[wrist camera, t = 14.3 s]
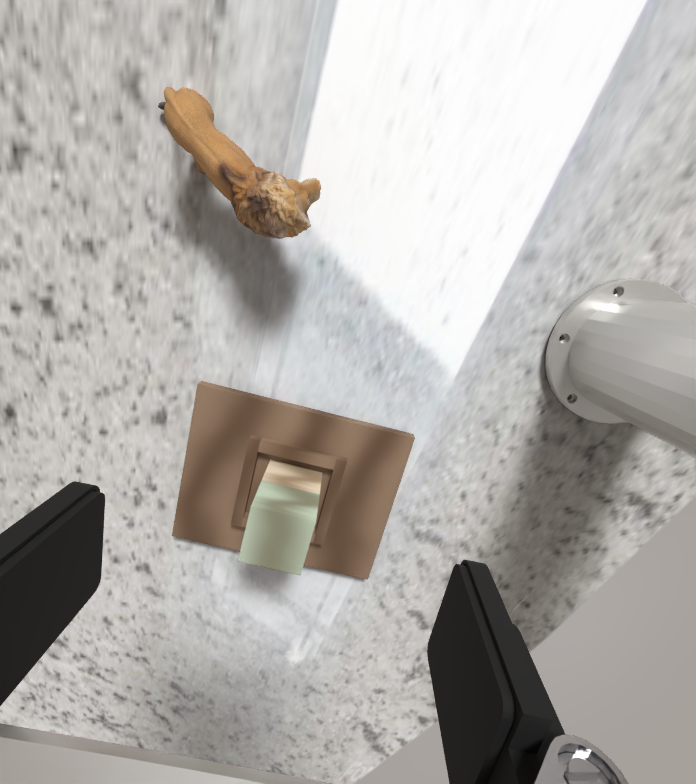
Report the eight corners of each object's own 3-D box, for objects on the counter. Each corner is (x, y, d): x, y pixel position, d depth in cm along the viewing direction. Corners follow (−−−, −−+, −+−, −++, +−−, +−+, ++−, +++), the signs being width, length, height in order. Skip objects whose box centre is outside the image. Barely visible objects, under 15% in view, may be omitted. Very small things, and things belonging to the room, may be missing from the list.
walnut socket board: (413, 434, 39) (416, 442, 37) (367, 572, 43) (368, 586, 41) (201, 381, 38) (193, 387, 36) (175, 529, 42) (167, 542, 40)
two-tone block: (322, 472, 39) (316, 521, 31) (309, 517, 40) (300, 575, 33) (270, 459, 39) (251, 506, 31) (259, 505, 40) (237, 561, 32)
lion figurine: (335, 207, 34) (331, 185, 25) (297, 262, 35) (280, 258, 26) (179, 77, 31) (114, 1, 22) (143, 140, 32) (68, 91, 24)
